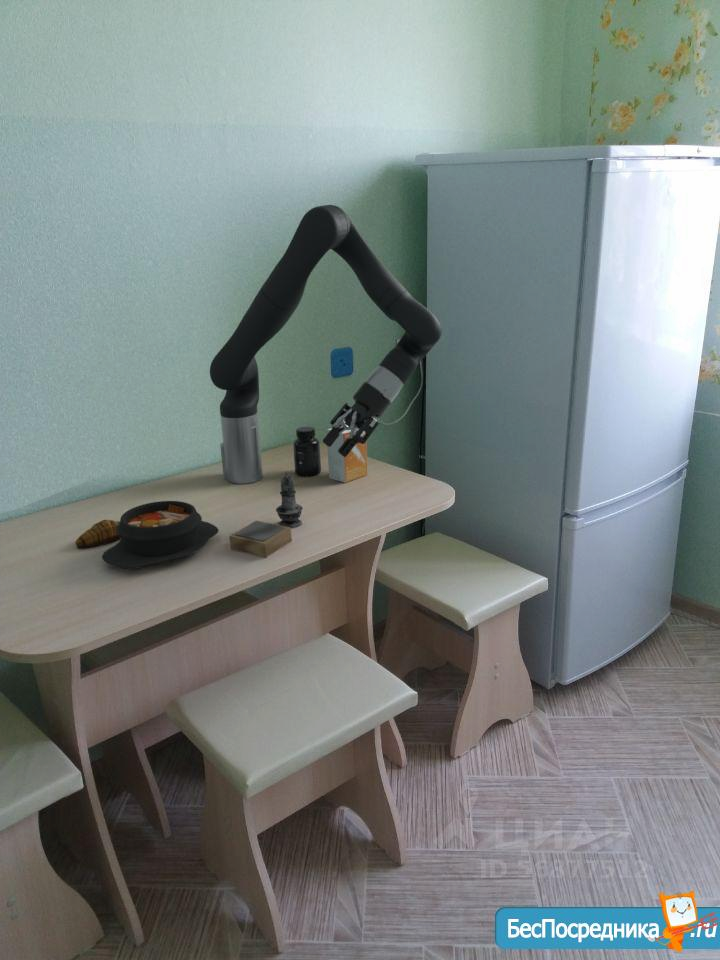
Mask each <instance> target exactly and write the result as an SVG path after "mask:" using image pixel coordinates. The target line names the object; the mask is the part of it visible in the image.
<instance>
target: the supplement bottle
mask: <svg viewBox="0 0 720 960" xmlns="http://www.w3.org/2000/svg"><path fill="white" fill-rule="evenodd" d="M295 430H296V431H295V432H296V435H295V437H296V439H294V440H293V445H292V447H293V448H292V449H293V460H294V461H293V463H294V473H295V475H296V476H298V477H301V478H313V477H316V476H319V475H320V474H321V473H322V462H321V459H322V458H321V443H320V440H319V439H318V438H317V437H316V435H317V434H316V429H315V427H314V426H301V427H297V428H296V429H295Z"/></svg>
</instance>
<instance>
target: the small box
mask: <svg viewBox="0 0 720 960" xmlns="http://www.w3.org/2000/svg"><path fill="white" fill-rule="evenodd" d="M342 427H343V426H342ZM331 429H332V427H331V428H328V429H326V435H327V434H328V433H329V432H330V430H331ZM350 432H351V430H345V431H343V432H342V433H340V435H339V436H338V438H337V439H336V440H335V442H334V443H333V444H332V445H331V446H330V447H328V446H327V462H328V463H327V464H328V478H329V479H333V480H335V481H338V482H342V483H343V484H344V483H345V484H346V483H348V482H351V481H355V480H357V479H360V478H363V477H366V476H368V447H367V445H368V444H367V441H366V442H365V443H364V444H361V443H359V444H356V445H355V446H354V447H353V449H352V450H351V451H350V452H349V454H348V455H347V456H346V457H344V456H342V455H341V454H340V453H338V449H339V448H340V447H341V446H342V444H343V443H344V442H345V440H346V439H347V438H349V435H350ZM365 434H366V432H365ZM365 434H364V435H363V436H362V437H364V436H365ZM349 439H350V438H349Z"/></svg>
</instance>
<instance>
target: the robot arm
mask: <svg viewBox="0 0 720 960" xmlns="http://www.w3.org/2000/svg"><path fill="white" fill-rule="evenodd" d="M330 250H332V251H333V252H334V253H336V254H337V255H338V256H339V257H341V258H342V260H344V261H345V262H346V263H347V264H348V266H349V267H350V269H352V271H353V272H354V274H355V276H356V277H357V279H358V282H359V283H360V285H361V287H362V288H363V290H364V291H365V293H366V295H367V296H368V297H369V299H371V301H372V302H373V304H375V306H377V308H378V309H380V311H381V312H382V313H383V314H384V315H385V316H386V318H388V319H390V320H391V321H394V322H396V323H397V324H398V325H399V326H400V327H401V328H402V329H403V330H404V331H405V332H404V333H403V335H402V336H401V338H400V339H399V341H398V342H397V343H396V345H395V347H393V348H392V349H391V350H389V352H388V353H387V354H386V355H385V357H384V358H383V359H382V360H381V362H380V363H379V365H378V366H377V367H376V368H375V369H373V371H372V372H371V373H370V374H369V375H368V377H367V378H366V379H365V381H364V382H363V383H362V384H361V386H360V387H359V388H358V389H357V391H356V392H355V394H354V395H353V396H352V399H353V400H354V402H355V403H354V404H353V405H352V406H351V405H350V404H349V403H347V402H346V403H344V404H343V405H342V407H341V408H340V409H339V410H338V411H337V413H336V414H335V415H334V416H333V418H331V420H330V421H329V423H330V425H331V428H332V429H331V430H330V432H329V433H328V434H327V433H326V435H325V437H324V438H323V439H322V443H323V444H325V445H326V446H327V448H328V447H330V446H331V445H332V444H333V443H334V442H335V440H336V439H337V438H338V436H339V435H340V433H342V432H343V431H345V430H351V432H350V435H349V438H350V439H349V438H347V439H346V440H345V442H344V443H343V444H342V446H341V447H340V448H339V449H338V453H340V454H341V455H342V456H344V457H346V456H347V455H348V454H349V452H350V451H351V450H352V449H353V447H354V446H355V445H356V444H359V443H361V444H364V443H365V442H366V443H367V441H368V439H369V438H370V436H371V435H372V434H373V433H374V431H375V430H376V428H377V427H378V426H379V424H380V422H379V421H378V420H377V419H376V418H378V419H380V418H381V417H382V416H383V414H384V413H385V411H386V410H387V409H388V408H389V407H390V405H391V404H392V402H393V401H394V400H395V398H396V397H397V396H398V395H399V394H400V391H401V390H402V388H403V387H404V385H405V384H406V383H407V382H408V380H409V379H410V377H411V376H412V375H413V374H414V372H415V370H416V368H418V367H417V366H418V365H419V364H420V363H421V362H422V360H423V359H424V358H425V357H426V356H427V354H428V353H429V352H430V351H431V350H432V349H433V348H434V346H435V345H436V344H437V343H438V342H439V341H440V339H441V336H442V332H443V331H442V330H443V329H442V324H441V323H440V321H439V320H438V318H437V317H436V316H435V315H434V314H433V312H431V311H430V310H429V309H428V308H427V307H425V306H424V305H423V304H422V303H421V302H419V301H418V300H416V299H415V297H413V296H412V294H411V293H410V292H409V291H408V290H407V289H406V288H405V286H403V285H402V284H401V283H400V281H399V280H398V279H396V277H395V276H394V275H393V274H392V273H391V272H390V271H389V269H387V267H385V265H384V264H383V262H381V259H379V258H378V256H377V255H376V254H375V253H374V251H372V249H371V248H370V246H369V244H367V242H366V241H365V240H364V238H363V237H362V235H361V234H360V232H359V231H358V228H356V225H354V223H353V221H352V220H351V218H350V217H349V215H348V214H347V213H346V212H345V210H343V209H342V208H341V207H339V206H337V205H333V204H325V205H320V206H319V205H318V206H314V207H313V208H311V209H309V210H308V211H306V212H305V214H304V215H303V216H302V219H301V220H300V221H299V224H298V226H297V229H295V232H294V235H293V236H292V239H291V241H290V242H289V244H288V247H287V249H286V250H285V252H284V254H283V256H282V257H281V258H280V259H279V261H278V262H277V264H276V265H275V266H274V268H273V270H272V271H271V273H270V274H269V275H268V277H267V279H266V280H265V282H264V283H263V284H262V286H261V287H260V289H259V290H258V291H257V293H256V296H254V299H252V302H251V304H250V305H249V307H248V309H247V310H246V312H245V313H244V315H243V317H242V319H241V320H240V322H239V324H238V325H237V327H236V329H235V331H234V332H232V335H231V336H230V337H229V338H228V340H227V342H225V344H224V345H223V347H222V348H221V349H220V350H219V351H218V352H217V354H215V356H214V357H213V359H212V361H211V363H210V367H209V378H210V380H211V382H212V383H213V385H214V386H215V387H216V388H218V389H220V390H222V391H225V395H224V397H223V399H222V401H221V402H220V404H219V412H220V421H221V422H220V425H221V433H222V442H221V443H220V446H219V447H220V456H221V463H222V472H223V473H222V474H223V475H222V476H223V480H226V481H227V482H229V483H231V484H239V485H240V484H241V485H242V484H250V483H255V482H259V481H260V480H261V479H263V463H262V462H263V461H262V451H261V450H262V449H261V438H260V427H259V425H260V424H259V415H258V414H259V413H258V404H259V400H260V380H259V379H260V378H259V368H258V367H259V366H258V363H257V359H256V354H257V353H258V352H259V351H260V350H261V349H262V348H263V347H264V346H265V345H266V344H267V343H268V342H269V341H270V340H272V339H273V338H274V337H275V336H276V335H277V334H278V333H279V332H280V331H281V330H282V329H283V328H284V327H285V325H286V324H287V323H288V321H289V320H290V319H291V317H292V316H293V314H294V313H295V311H296V310H297V308H298V306H299V305H300V303H301V300H302V298H303V295H304V293H305V289H306V285H307V282H308V281H309V280H308V279H309V278H310V275H311V273H312V272H313V270H314V269H315V267H316V266H317V265H318V263H319V262H320V261H321V259H322V258H324V256H325V255H326V254H327V253H328V252H329V251H330ZM342 426H343V427H342ZM365 432H366V434H365ZM364 434H365V436H364V437H362V436H363V435H364Z"/></svg>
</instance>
